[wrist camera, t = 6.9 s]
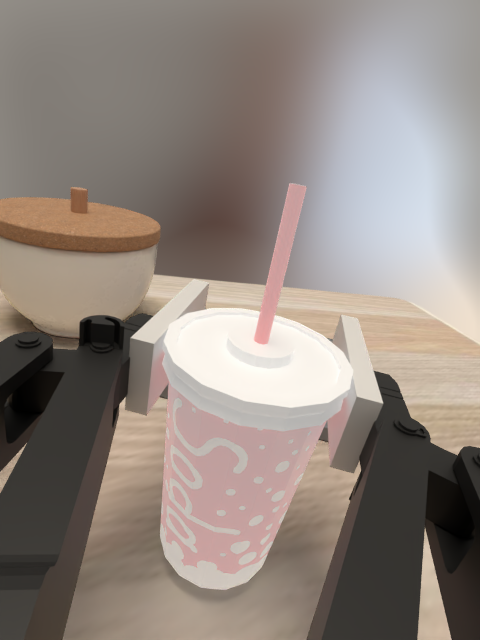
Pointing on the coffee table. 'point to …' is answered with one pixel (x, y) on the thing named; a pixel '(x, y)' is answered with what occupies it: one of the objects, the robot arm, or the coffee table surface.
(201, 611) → the coffee table surface
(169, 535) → the beverage cup
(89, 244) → the lidded bowl
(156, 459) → the coffee table surface
